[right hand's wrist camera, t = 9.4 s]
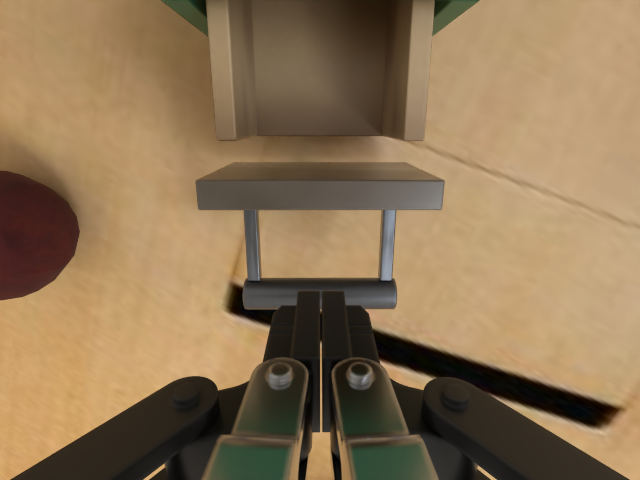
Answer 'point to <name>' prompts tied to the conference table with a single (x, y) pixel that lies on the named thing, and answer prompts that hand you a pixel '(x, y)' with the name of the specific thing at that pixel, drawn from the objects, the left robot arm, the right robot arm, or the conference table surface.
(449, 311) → the conference table surface
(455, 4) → the cabinet
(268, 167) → the drawer
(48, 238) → the potato
